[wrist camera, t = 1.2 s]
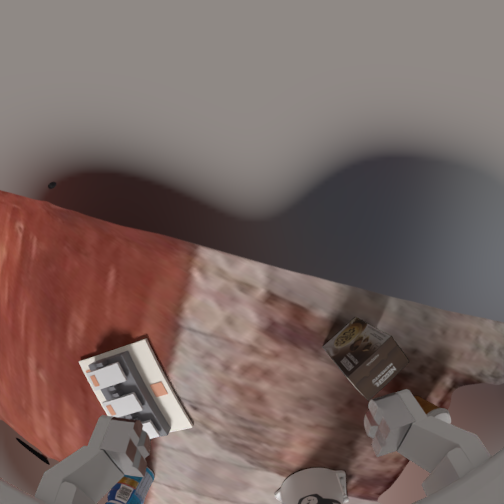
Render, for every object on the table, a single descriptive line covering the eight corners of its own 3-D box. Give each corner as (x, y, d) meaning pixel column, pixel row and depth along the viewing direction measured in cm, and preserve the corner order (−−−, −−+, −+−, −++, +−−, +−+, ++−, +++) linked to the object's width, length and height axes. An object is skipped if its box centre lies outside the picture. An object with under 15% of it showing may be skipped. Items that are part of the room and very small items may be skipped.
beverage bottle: (161, 478, 51) (139, 528, 31) (141, 483, 51) (117, 529, 31) (140, 457, 51) (110, 505, 31) (120, 463, 51) (90, 507, 31)
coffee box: (339, 367, 51) (367, 403, 35) (321, 346, 51) (345, 378, 35) (373, 336, 51) (411, 362, 35) (356, 315, 51) (392, 335, 35)
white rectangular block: (160, 433, 47) (159, 436, 46) (129, 441, 45) (128, 444, 44) (150, 419, 47) (149, 422, 46) (120, 427, 46) (118, 430, 44)
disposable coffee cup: (431, 403, 50) (456, 424, 38) (403, 429, 50) (424, 453, 38) (419, 382, 51) (446, 402, 39) (388, 409, 51) (410, 435, 39)
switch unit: (193, 425, 51) (187, 440, 45) (124, 437, 52) (115, 450, 45) (146, 338, 52) (134, 346, 46) (80, 360, 52) (66, 368, 46)
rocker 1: (127, 379, 47) (125, 381, 46) (96, 389, 46) (94, 391, 45) (118, 361, 48) (116, 363, 46) (88, 372, 46) (85, 373, 45)
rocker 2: (143, 407, 47) (142, 410, 46) (113, 416, 46) (111, 419, 44) (134, 391, 47) (133, 394, 46) (103, 401, 46) (101, 403, 44)
